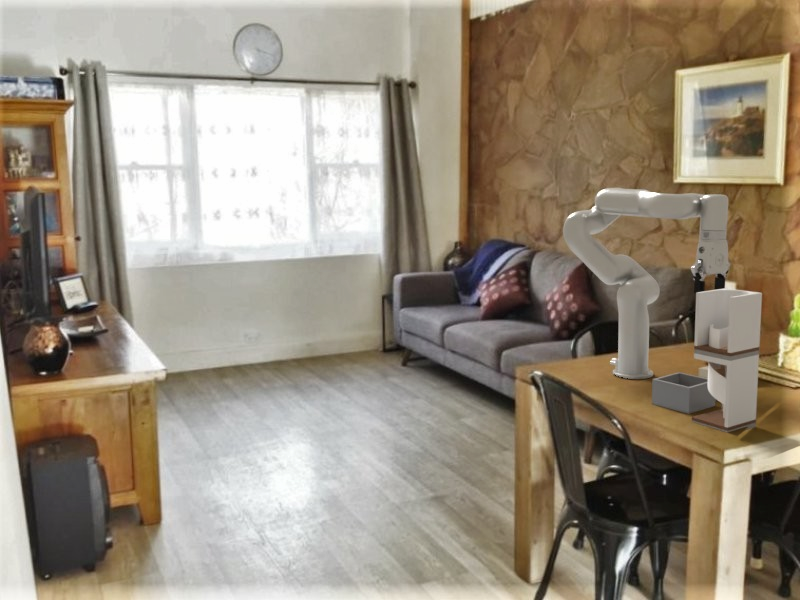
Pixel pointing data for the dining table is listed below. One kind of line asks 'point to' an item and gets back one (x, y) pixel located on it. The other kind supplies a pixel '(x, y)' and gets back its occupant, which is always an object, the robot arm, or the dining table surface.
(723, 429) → the display case
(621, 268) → the robot arm
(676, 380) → the open box
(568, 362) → the dining table surface
